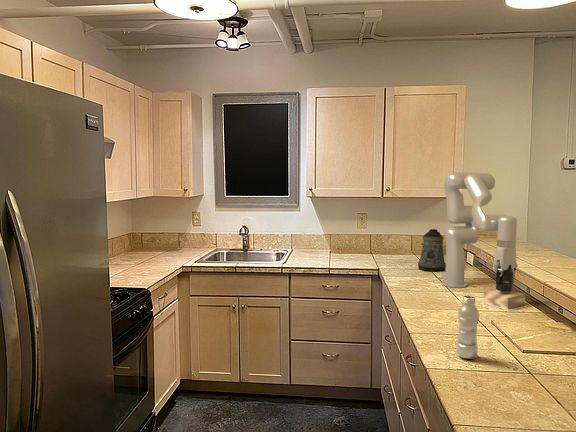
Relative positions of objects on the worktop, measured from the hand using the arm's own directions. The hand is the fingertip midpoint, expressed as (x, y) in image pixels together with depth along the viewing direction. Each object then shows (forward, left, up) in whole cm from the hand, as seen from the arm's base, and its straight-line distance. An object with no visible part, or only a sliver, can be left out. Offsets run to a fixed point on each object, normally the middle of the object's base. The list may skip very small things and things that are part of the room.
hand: (504, 283), depth 204 cm
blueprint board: (0, 0, -10) cm, 10 cm away
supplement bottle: (0, 0, -3) cm, 3 cm away
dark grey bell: (-74, +33, -11) cm, 82 cm away
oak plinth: (0, 0, -9) cm, 9 cm away
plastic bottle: (+31, -62, -11) cm, 70 cm away
